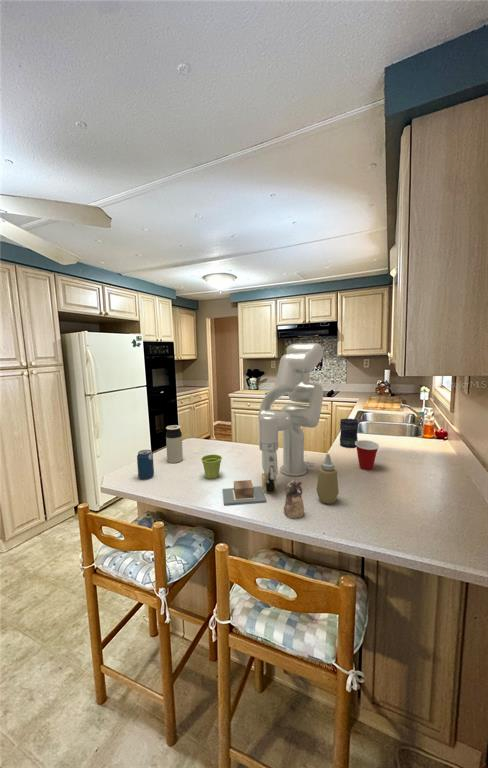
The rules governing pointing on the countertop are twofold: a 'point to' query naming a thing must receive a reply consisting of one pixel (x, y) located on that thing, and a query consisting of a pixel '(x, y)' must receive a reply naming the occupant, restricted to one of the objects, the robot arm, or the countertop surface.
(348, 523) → the countertop surface
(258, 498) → the slate mat
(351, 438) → the storage jar
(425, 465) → the countertop surface
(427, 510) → the countertop surface
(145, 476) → the soda can
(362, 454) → the plastic cup
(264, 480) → the oak cube
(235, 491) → the walnut base
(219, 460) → the plant pot
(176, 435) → the travel mug
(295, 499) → the figurine
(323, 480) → the squeeze bottle
